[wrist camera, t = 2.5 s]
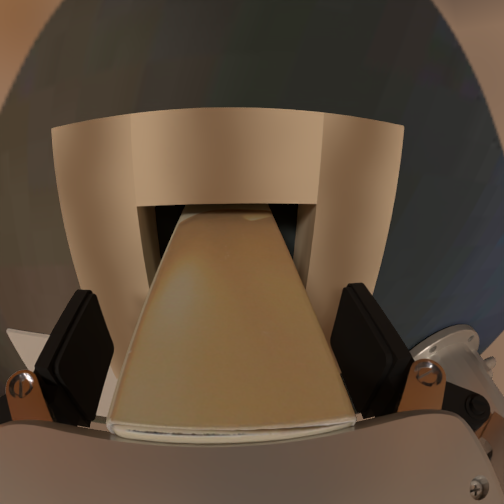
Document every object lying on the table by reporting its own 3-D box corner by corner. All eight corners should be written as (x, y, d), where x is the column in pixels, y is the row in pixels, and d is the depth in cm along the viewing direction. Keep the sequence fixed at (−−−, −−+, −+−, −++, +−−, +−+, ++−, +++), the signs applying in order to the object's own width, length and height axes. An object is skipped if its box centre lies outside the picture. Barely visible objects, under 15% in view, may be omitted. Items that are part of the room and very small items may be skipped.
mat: (111, 341, 18) (110, 345, 18) (146, 418, 23) (145, 421, 23) (8, 328, 17) (6, 331, 17) (55, 403, 22) (54, 406, 22)
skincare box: (264, 298, 17) (304, 504, 7) (191, 300, 17) (173, 509, 6) (269, 194, 15) (372, 422, 4) (183, 195, 14) (95, 430, 3)
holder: (373, 121, 13) (404, 126, 10) (333, 342, 20) (346, 372, 17) (81, 123, 12) (51, 128, 9) (125, 347, 19) (116, 378, 16)
